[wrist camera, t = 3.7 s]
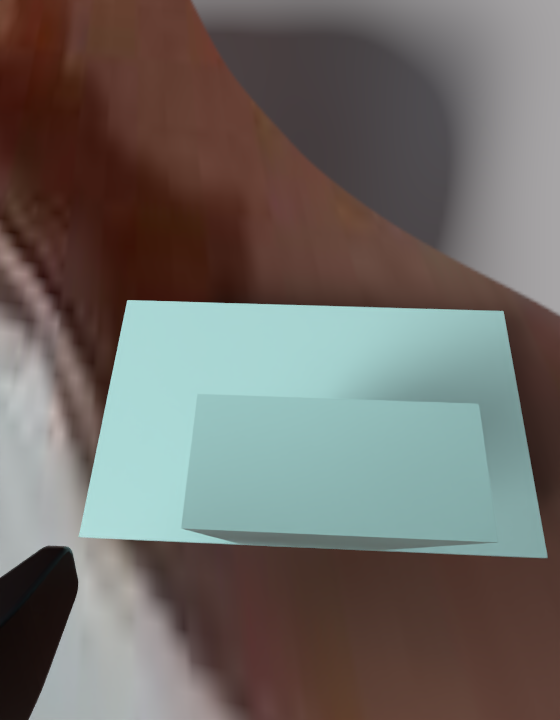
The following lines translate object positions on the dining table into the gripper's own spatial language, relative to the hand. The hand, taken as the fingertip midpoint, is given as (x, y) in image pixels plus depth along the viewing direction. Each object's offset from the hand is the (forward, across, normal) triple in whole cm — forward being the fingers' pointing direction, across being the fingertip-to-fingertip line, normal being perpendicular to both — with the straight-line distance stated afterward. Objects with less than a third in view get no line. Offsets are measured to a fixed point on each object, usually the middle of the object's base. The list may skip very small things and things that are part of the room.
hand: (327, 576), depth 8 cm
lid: (+9, 0, +2) cm, 9 cm away
